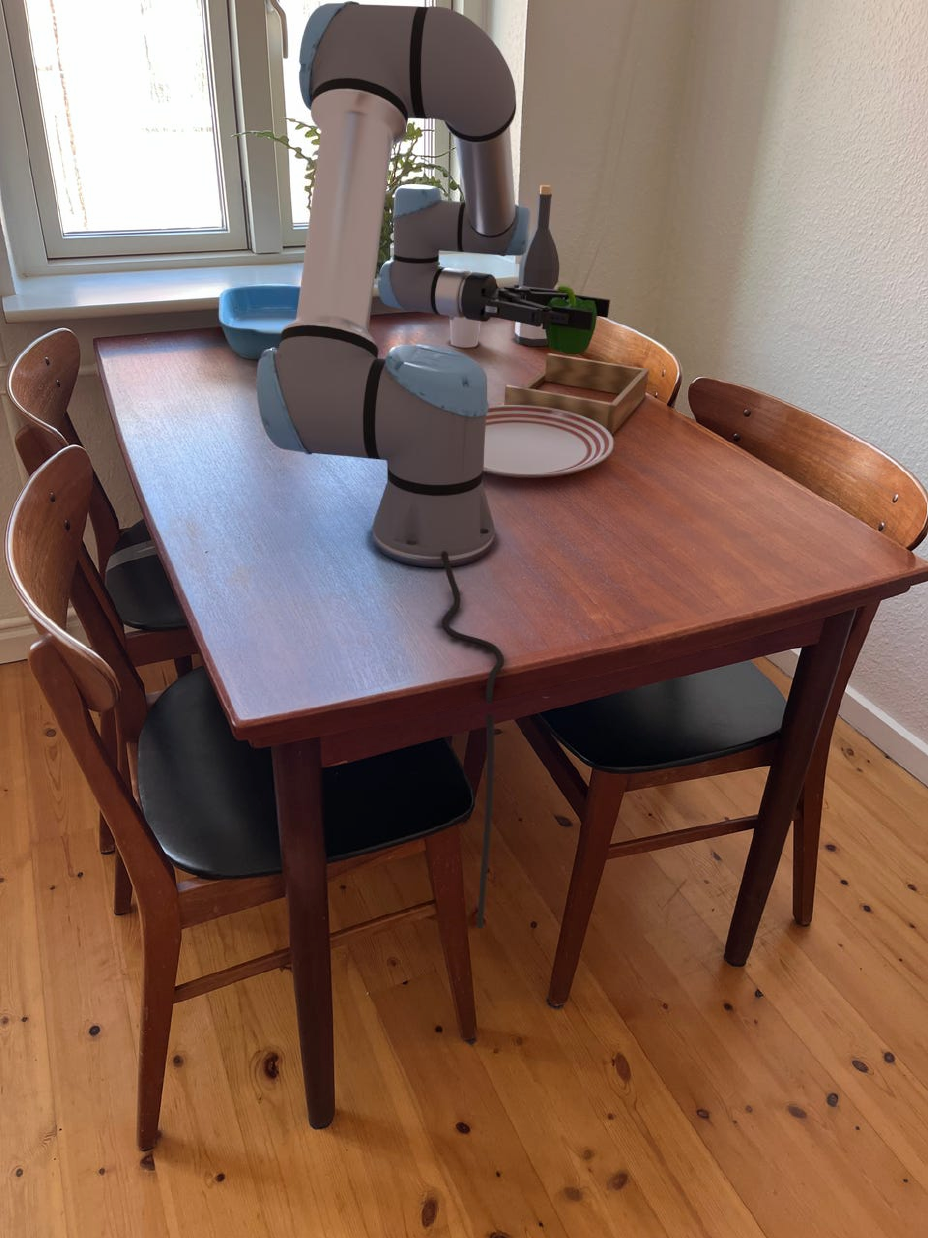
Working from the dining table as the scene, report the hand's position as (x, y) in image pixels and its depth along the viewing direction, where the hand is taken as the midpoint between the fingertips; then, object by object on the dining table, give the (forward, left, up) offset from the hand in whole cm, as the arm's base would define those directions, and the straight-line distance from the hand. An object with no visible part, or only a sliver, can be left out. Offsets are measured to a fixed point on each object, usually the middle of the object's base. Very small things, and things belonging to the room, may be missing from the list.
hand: (600, 314), depth 147 cm
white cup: (+48, +2, -18) cm, 52 cm away
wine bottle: (+46, -13, -18) cm, 51 cm away
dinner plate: (-10, +17, -18) cm, 27 cm away
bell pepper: (+4, +3, -7) cm, 8 cm away
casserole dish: (+60, +38, -18) cm, 74 cm away
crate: (+8, -2, -18) cm, 20 cm away
